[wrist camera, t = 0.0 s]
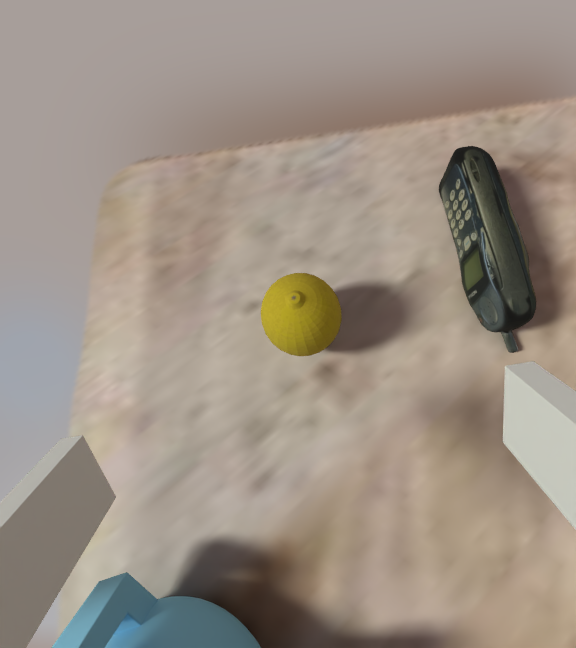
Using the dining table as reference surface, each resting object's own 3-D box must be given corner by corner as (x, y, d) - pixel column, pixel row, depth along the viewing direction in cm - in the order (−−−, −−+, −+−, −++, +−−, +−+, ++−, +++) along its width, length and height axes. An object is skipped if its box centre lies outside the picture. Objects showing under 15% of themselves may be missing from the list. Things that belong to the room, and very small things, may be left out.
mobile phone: (448, 144, 24) (516, 343, 20) (491, 134, 24) (570, 335, 19) (430, 189, 29) (481, 357, 24) (466, 181, 28) (524, 351, 24)
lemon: (307, 283, 28) (296, 236, 20) (355, 329, 26) (362, 297, 19) (259, 328, 27) (229, 298, 20) (305, 377, 26) (291, 365, 18)
